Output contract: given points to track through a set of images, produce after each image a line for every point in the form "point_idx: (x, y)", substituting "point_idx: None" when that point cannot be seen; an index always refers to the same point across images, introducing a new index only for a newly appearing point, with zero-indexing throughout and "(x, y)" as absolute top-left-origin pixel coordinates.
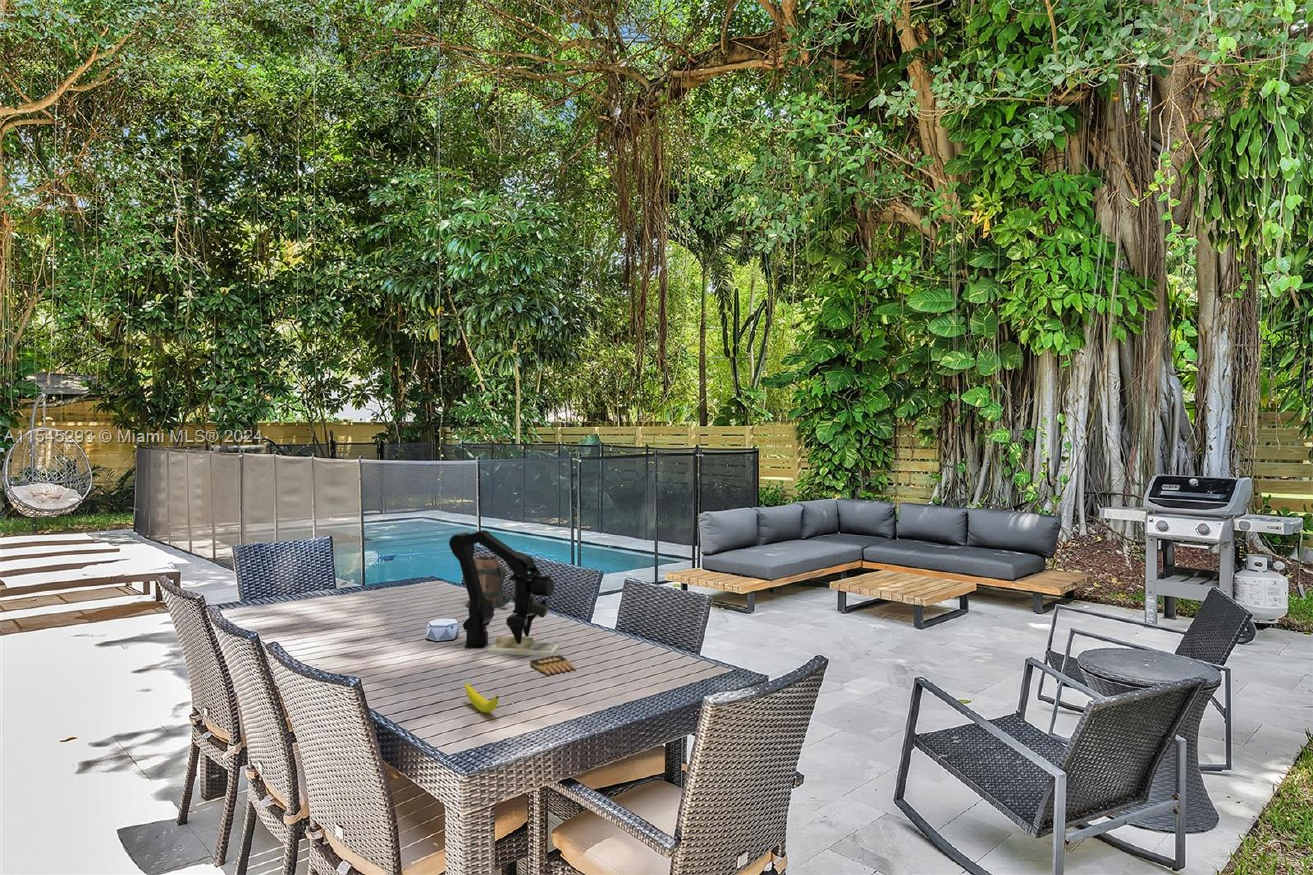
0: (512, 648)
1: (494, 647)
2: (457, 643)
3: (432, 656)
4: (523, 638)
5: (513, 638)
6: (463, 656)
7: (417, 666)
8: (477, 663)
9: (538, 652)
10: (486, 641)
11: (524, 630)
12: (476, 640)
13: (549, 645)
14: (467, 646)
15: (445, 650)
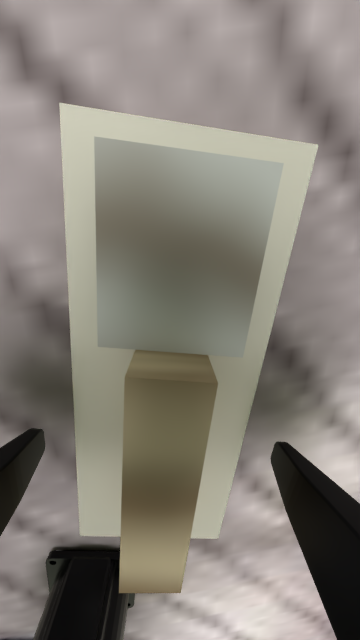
0: None
1: None
2: None
3: (239, 634)
4: (161, 453)
5: (165, 516)
6: (247, 574)
7: None
8: None
9: (281, 278)
10: (95, 578)
11: (3, 518)
12: (123, 622)
13: (190, 187)
14: (133, 598)
15: (170, 627)
